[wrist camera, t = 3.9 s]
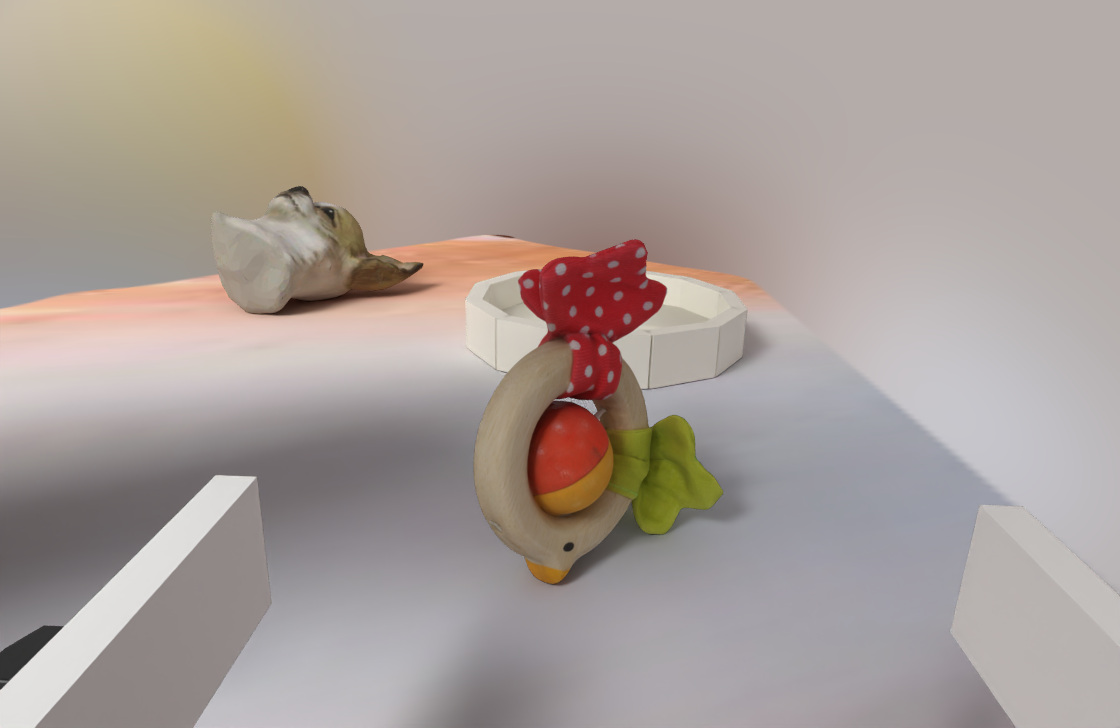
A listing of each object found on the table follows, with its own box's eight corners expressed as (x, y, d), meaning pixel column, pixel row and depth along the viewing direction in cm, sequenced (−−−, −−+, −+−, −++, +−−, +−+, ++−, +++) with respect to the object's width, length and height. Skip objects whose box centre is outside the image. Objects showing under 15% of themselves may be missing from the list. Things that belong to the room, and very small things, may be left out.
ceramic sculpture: (162, 180, 51) (333, 180, 63) (172, 306, 53) (335, 282, 66) (266, 195, 46) (430, 191, 58) (272, 333, 48) (428, 301, 61)
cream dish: (448, 381, 41) (447, 328, 40) (487, 303, 57) (487, 264, 56) (765, 393, 40) (771, 339, 40) (714, 311, 57) (717, 271, 56)
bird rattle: (627, 672, 23) (752, 475, 28) (540, 412, 17) (721, 215, 22) (482, 594, 27) (615, 431, 32) (363, 355, 20) (554, 197, 25)
